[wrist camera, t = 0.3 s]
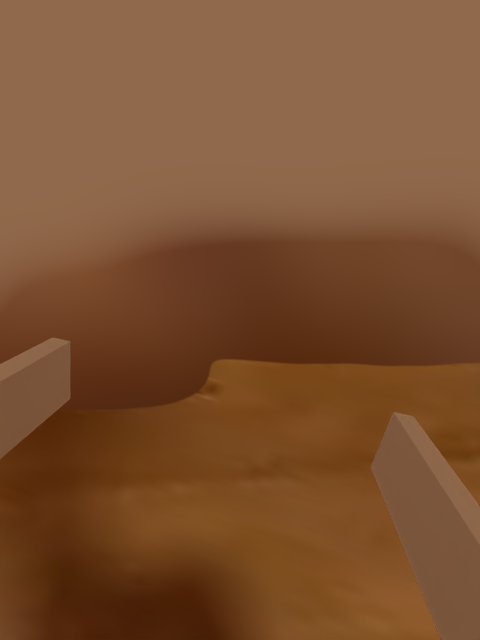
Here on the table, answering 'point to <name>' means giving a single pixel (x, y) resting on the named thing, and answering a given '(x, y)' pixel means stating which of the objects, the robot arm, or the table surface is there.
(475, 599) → the robot arm
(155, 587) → the table surface
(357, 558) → the table surface
